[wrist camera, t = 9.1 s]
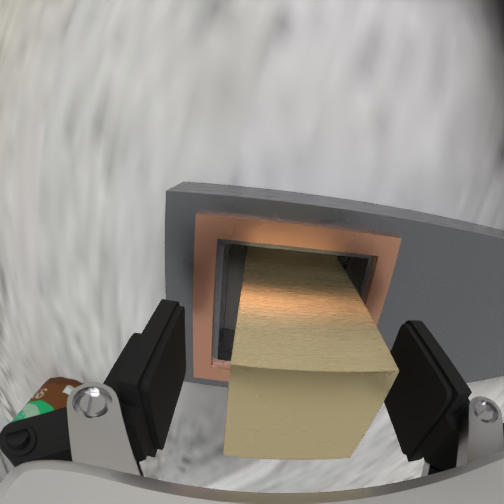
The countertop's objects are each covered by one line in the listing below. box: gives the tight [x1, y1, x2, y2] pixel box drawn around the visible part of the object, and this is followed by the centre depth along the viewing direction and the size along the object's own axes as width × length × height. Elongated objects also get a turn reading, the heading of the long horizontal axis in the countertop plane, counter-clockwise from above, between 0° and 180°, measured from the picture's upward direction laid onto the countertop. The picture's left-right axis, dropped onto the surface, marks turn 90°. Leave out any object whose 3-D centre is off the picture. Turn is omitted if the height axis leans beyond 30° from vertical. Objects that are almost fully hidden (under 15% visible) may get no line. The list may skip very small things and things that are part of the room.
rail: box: [165, 182, 504, 387], centre depth 13 cm, size 28×9×3 cm, turn 84°
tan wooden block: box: [223, 246, 399, 460], centre depth 11 cm, size 4×4×8 cm
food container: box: [12, 377, 83, 422], centre depth 14 cm, size 12×6×10 cm, turn 145°
